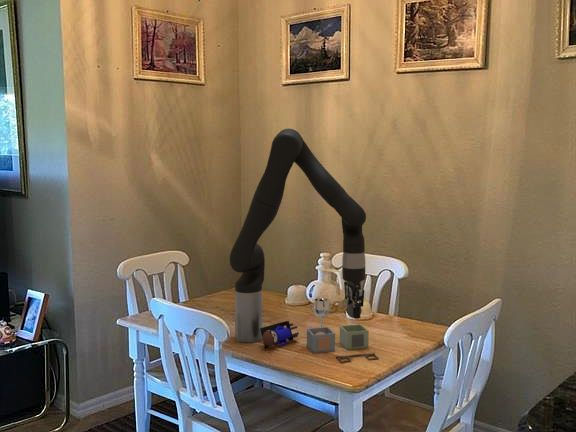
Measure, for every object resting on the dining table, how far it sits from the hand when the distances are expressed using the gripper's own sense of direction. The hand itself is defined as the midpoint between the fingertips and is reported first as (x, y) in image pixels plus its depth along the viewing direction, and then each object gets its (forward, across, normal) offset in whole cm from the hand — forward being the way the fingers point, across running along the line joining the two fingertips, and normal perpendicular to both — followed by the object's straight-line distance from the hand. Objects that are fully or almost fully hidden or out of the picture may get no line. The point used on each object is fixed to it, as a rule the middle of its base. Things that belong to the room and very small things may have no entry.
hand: (354, 315), depth 200 cm
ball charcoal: (-2, 0, 0) cm, 2 cm away
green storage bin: (+10, 0, 0) cm, 10 cm away
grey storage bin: (+10, 0, +12) cm, 15 cm away
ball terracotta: (+7, 0, +11) cm, 14 cm away
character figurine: (+10, +7, +24) cm, 27 cm away
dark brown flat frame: (+10, -12, +3) cm, 16 cm away
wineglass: (+10, +17, +7) cm, 21 cm away
